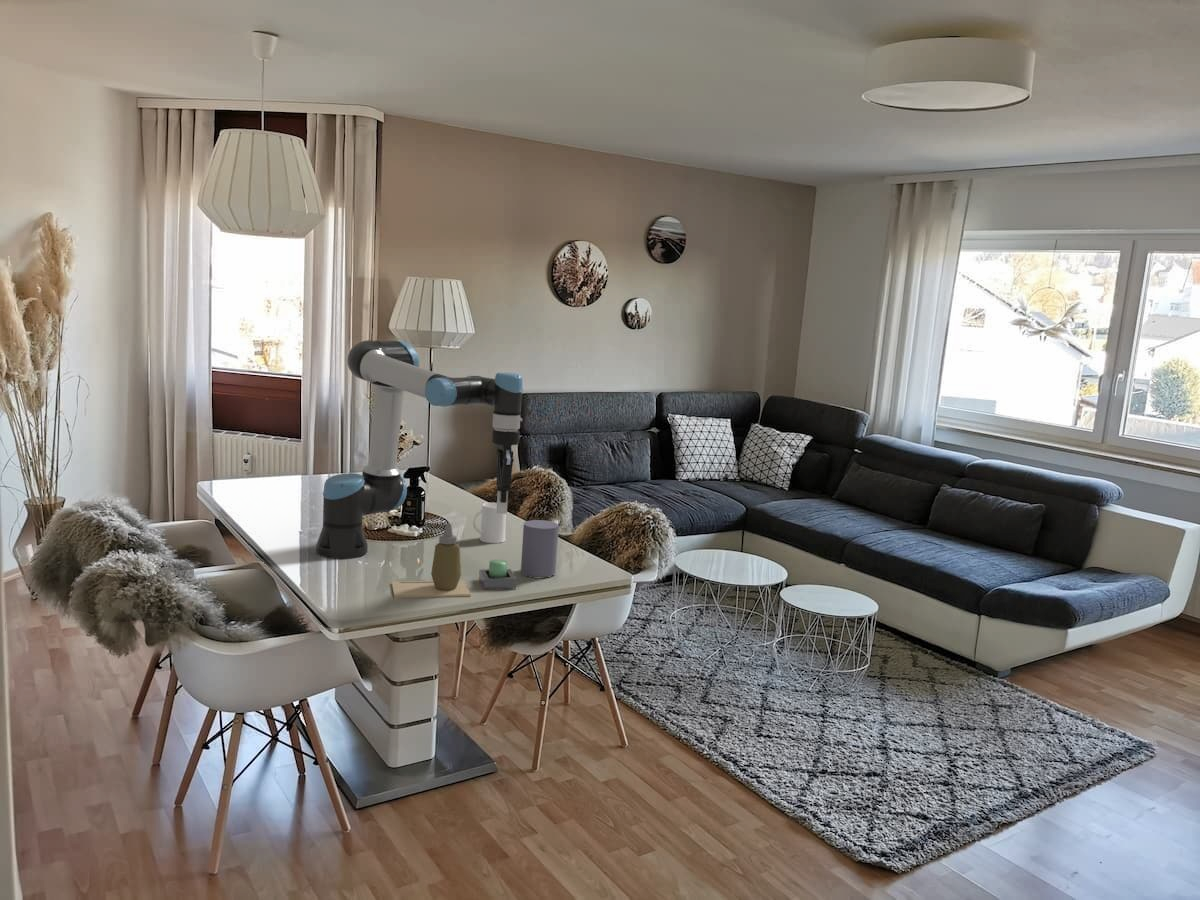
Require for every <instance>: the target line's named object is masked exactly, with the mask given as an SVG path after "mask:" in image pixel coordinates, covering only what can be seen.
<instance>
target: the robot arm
mask: <svg viewBox="0 0 1200 900" xmlns="http://www.w3.org/2000/svg"><path fill="white" fill-rule="evenodd" d="M419 359H420V357H419V355H418V352H417V351H416V350H415V348H414V347H413V345H411V344H410V343H409V342H406V341H403V340H402V341H401V340H400V341H399V340H363V341H360V342H358V343H356V344H354V345H353V346H352V347H351V349H350V350H349V351H348V355H347V359H346V361H347V366H348V369H349V371H350V373H351V374H352V375H353V376H354V377H356V378H358V379H361V380H364V381H366V382H369V383H370V384H371V386H372V387H373V388H374V396H373V397H374V398H373V406H372V408H373V409H372V419H371V430H370V440H369V441H370V443H369V453H368V463H367V464H366V465H365V466H364V467H362V473H361V474H360V473H359V474H358V473H353V472H352V473H349V472H348V473H341V474H340V473H339V474H335V475H332V476H330V477H328V478H327V479H326V480H325V481H324V483H323V484H324V485H323V491H322V497H323V498H322V499H323V504H322V529H321V531H320V533H319V536H318V539H317V542H316V543H315V544H316V545H315V553H316V555H319V556H321V557H325V558H328V559H329V558H331V559H353V558H358V557H362V556H364V555H367V553H368V547H369V546H368V545H369V544H368V542H367V539H366V535H365V531H364V529H363V528H364V527H363V522H364V521H363V519H364V516H368V515H375V514H381V513H388V512H392V511H395V510H397V509H399V508H400V507H401V506H402V505H403V504H404V502H405V500H406V498H407V493H408V488H407V484H406V479H404V477H403V476H402V475H401V474H402V473H401V472H402V471H401V470H400V469H399V467H398V466H397V465H398V464H397V463H398V455H399V454H398V452H399V443H400V442H399V440H400V432H401V422H402V421H401V420H402V413H403V410H402V409H403V400H404V392H407V393H410V394H412V395H416V396H418V397H421V398H425V399H426V401H428V403H429V405H431V406H433V407H442V408H443V407H452V406H466V405H468V406H469V405H485V406H486V405H487V406H491V407H493V411H492V412H493V413H492V427H493V430H492V433H491V434H492V435H491V436H492V437H491V442H492V443H493V444H494V445H495V444H496V445H498V449H496V451H495V452H496V453H495V454H496V482H495V483H496V486H497V487H496V491H497V493H496V494H497V495H496V496H497V497H496V498H497V499H496V503H497V511H496V513H497V514H506V515H508V502H509V501H508V499H509V491H510V490H511V483H512V482H511V481H512V475H513V474H512V473H513V464H514V461H515V460H514V451H513V450H512V446H517V445H519V444H520V434H521V432H520V431H519V430H520V428H521V422H523V418H522V417H521V413H522V412H521V411H522V402H523V401H522V399H523V391H524V390H523V389H524V388H523V376H522V375H521V374H519V373H513V372H497V373H496V374H495V376H494V378H493V377H491V378H490V377H483V376H480V375H468V376H465V377H450V376H446V375H443V374H441V373H438V372H434V371H432V370H429V369H426V368H423V367H420V360H419Z"/></svg>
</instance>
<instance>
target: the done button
mask: <svg viewBox="0 0 1200 900" xmlns="http://www.w3.org/2000/svg"><path fill="white" fill-rule="evenodd" d="M488 568H489V578H495V577H507V569H508V560H507V561H506V560H504V559H490V561H489V567H488Z"/></svg>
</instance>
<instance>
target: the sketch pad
mask: <svg viewBox="0 0 1200 900" xmlns="http://www.w3.org/2000/svg"><path fill="white" fill-rule="evenodd" d="M391 586H392V593H393V598H394V599H400V598H401V599H404V598H405V599H406V598H408V599H409V598H410V599H411V598H447V597H449V598H451V597H456V598H457V597H460V598H461V597H471V593H470V589H469V588H468V585H467V584H466V581H465V580H459V582H458V584H457V587H456V588H455V589H452V590H440V589H437V588H435V586H434V582H433V580H419V581H418V580H417V581H415V580H414V581H403V580H402V581H391Z"/></svg>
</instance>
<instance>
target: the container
mask: <svg viewBox="0 0 1200 900" xmlns="http://www.w3.org/2000/svg"><path fill="white" fill-rule="evenodd" d="M559 526H560V525H559V524H558V522H555V521H551V520H542V519H532V520H526V521H524V522H523V527H522V528H523V529H522V530H523V531H522V543H521V545H522V547H521V560H520V561H521V563H520V573H521V574H522V575H524V576H526V575H527V576H526V577H529V576H531V577H530V578H533V577H548V578H550V577H549V576H552V575H553V576H555V575H556V572H557V571H556V570H557V557H558V556H557V555H558V542H559ZM554 574H555V575H554ZM553 576H552V577H553Z"/></svg>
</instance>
